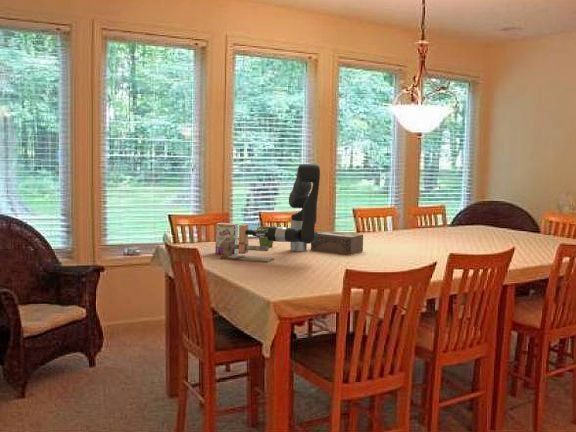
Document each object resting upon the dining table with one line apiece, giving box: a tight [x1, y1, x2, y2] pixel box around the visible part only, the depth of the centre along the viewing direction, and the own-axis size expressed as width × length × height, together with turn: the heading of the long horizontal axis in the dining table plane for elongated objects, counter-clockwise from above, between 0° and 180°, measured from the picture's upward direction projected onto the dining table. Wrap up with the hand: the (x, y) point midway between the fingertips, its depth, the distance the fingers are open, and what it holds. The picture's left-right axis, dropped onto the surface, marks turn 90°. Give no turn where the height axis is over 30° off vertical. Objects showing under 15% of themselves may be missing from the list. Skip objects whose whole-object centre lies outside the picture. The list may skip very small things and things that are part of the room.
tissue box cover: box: [310, 230, 364, 256], centre depth 356 cm, size 26×14×10 cm, turn 57°
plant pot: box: [256, 226, 274, 249], centre depth 363 cm, size 12×12×11 cm
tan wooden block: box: [237, 223, 249, 255], centre depth 322 cm, size 6×3×15 cm, turn 162°
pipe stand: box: [219, 241, 275, 264], centre depth 322 cm, size 10×26×8 cm, turn 72°
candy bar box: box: [215, 222, 239, 255], centre depth 336 cm, size 11×5×16 cm, turn 74°
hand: (246, 232), depth 321 cm, fingers closed
